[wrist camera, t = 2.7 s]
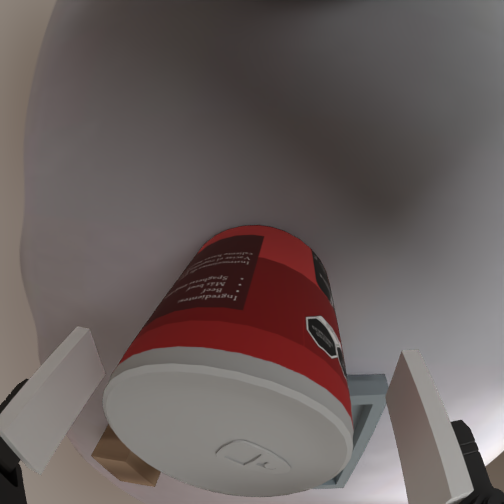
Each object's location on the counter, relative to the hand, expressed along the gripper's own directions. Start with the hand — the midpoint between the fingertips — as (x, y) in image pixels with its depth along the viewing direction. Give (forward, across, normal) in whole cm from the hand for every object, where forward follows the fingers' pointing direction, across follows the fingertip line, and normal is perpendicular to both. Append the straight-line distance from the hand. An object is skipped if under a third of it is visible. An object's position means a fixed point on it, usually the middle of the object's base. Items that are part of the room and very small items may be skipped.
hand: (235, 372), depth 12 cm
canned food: (+7, 0, 0) cm, 7 cm away
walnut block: (+7, -13, -20) cm, 24 cm away
